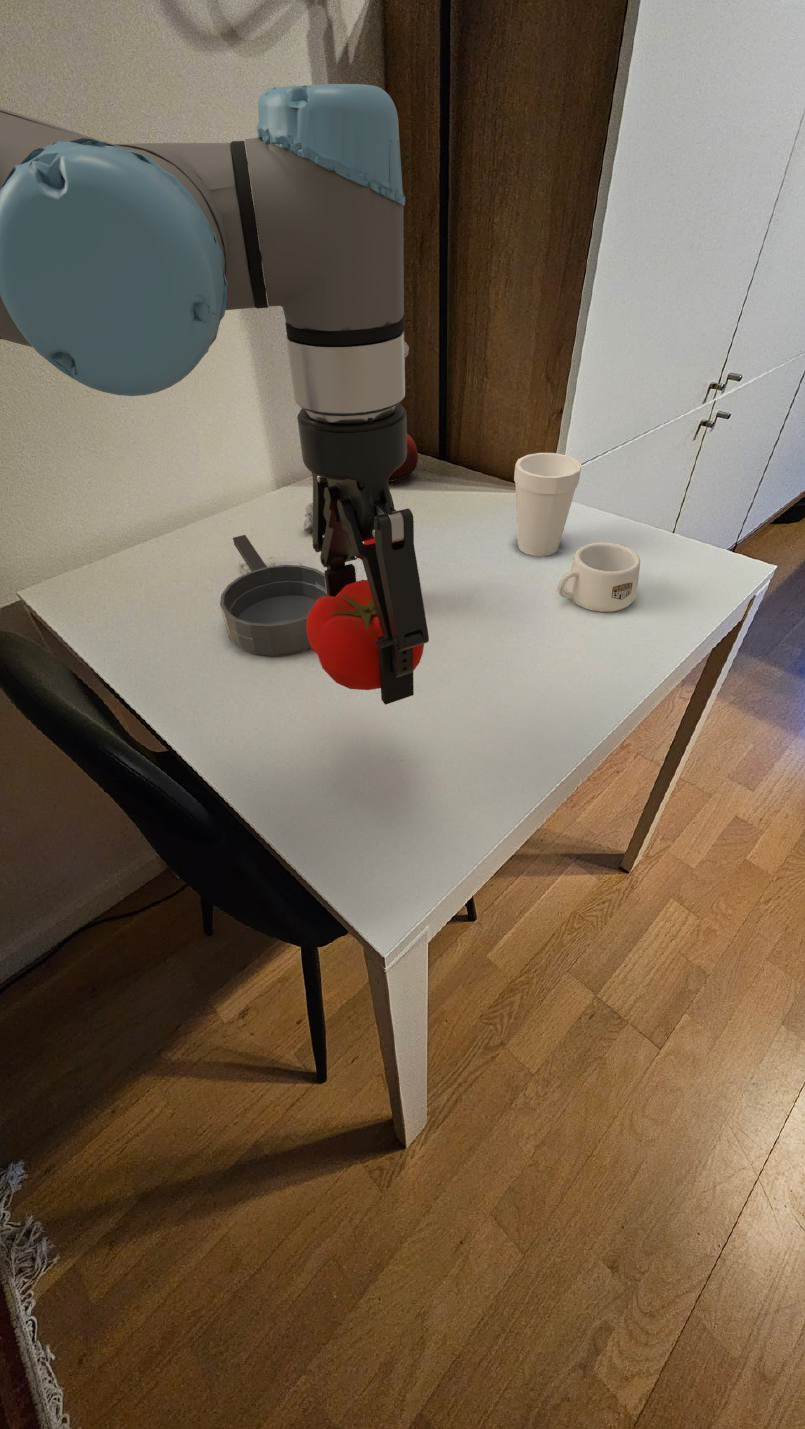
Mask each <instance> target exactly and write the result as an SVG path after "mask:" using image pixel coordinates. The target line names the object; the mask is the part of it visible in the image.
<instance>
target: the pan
mask: <svg viewBox="0 0 805 1429" xmlns="http://www.w3.org/2000/svg"><path fill="white" fill-rule="evenodd" d="M324 596H327V588H326V579H325V572H323V571H321V570H319V569H317V568H315V567H309V566H305V565H301V564H300V565H299V564H279V565H278V564H277V565H269V566H267V567H265V568H261V569H257V570H253V571H251V570H250V571H249V572H247V573H244V574H243V575H240V576H238V577H236V579H234V580H233V581H231V582H230V583H228V585H227V586H226V587H225V588H224V590H223V591H222V593H221V595H220V600H219V606H220V610H221V613H222V617H223V621H224V624H225V628H226V632H227V634H228V636H229V639H230V640H231V642H232V643H234V644H235V645H236V646H238V648H240V649H241V650H244V651H246V652H247V653H248V652H249V653H251V654H254V655H258V656H264V657H265V656H266V657H281V656H291V655H295V654H298V653H302V652H305V651H308V650H310V649H312V648H311V646H310V643H309V640H308V637H307V630H306V623H307V616H308V614H309V613H310V611H311V609H312V607H313V606H314V604H315V602H316V601H317V599H319V598H321V597H324Z"/></svg>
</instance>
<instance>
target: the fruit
mask: <svg viewBox="0 0 805 1429" xmlns="http://www.w3.org/2000/svg"><path fill="white" fill-rule="evenodd" d="M418 461H419V452H418V448H417V445H416V442H415V441H414V439H413V437H412V436H411V435H409V434H408V433H407V458H406V460H405V462H404V463H403V465H402V466H401V467H400V468H398V469H397V470H395V471H394V472H393V473H392V475H391V476H390V477H389V479H388V482H394V481H399V480H402V479H406V478H408V477H410V476H411V475H412V474H413V472H414V471H415V470H416V469H417V466H418Z"/></svg>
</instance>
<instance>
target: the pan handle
mask: <svg viewBox="0 0 805 1429" xmlns="http://www.w3.org/2000/svg"><path fill="white" fill-rule="evenodd" d="M232 541H233V545H234V546H235V548H236V550H237V551H238V553H239V554H240V556H241V557H242V559H243V561H244V562H245V564H246V565H247V567H248V569H249V571H250V572H251V571H253V570H257V569H261V568H265V567H268V565H267V564H266V563H265V562H264V560H263V559H262V556H260V555H259V553H258V551H257V550H256V548H255V547H254V546H253V544H252V542H251V541H250V540H249V538H248V537H247V535H246V534H243V535H238V536H234V537H232Z"/></svg>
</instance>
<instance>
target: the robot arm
mask: <svg viewBox="0 0 805 1429" xmlns="http://www.w3.org/2000/svg"><path fill="white" fill-rule="evenodd" d="M257 115H258V117H257V119H258V122H257V125H256V133H257V137H252V138H251V137H250V138H245V139H244V140H232V141H231V142H145V143H144V142H143V143H139V142H138V143H111V142H108V141H104V140H100V139H98V138H95V137H92V136H88V135H85V134H82V133H79V132H76V131H72V130H71V129H68V128H63V127H60V126H57V125H55V124H51V123H48V122H45V121H42V120H39V119H36V118H34V117H33V118H32V117H30V116H26V115H23V114H21V113H17V112H15V111H12V110H8V109H4V108H0V340H3V341H7V342H11V343H15V344H18V345H22V346H25V347H31V348H33V349H34V351H36V352H37V354H38V355H39V356H41V357H42V358H44V359H45V360H46V361H47V362H49V363H50V364H51V365H52V366H54V367H55V368H56V369H57V370H58V371H59V372H61V373H63V374H65V375H67V376H68V377H70V379H72V380H75V381H76V382H78V383H79V384H82V385H84V386H86V387H88V388H90V389H92V390H96V391H99V392H101V393H107V394H110V395H117V396H122V397H123V396H125V397H140V396H147V395H152V394H157V393H159V392H162V391H165V390H167V389H170V388H171V387H173V386H174V385H176V384H178V383H179V382H181V381H182V380H183V379H185V378H186V377H187V376H188V375H190V373H191V372H193V370H195V368H196V367H197V366H198V364H199V363H200V362H201V360H202V359H203V358H204V356H206V354H207V353H208V352H209V350H210V347H211V346H212V345H213V343H214V342H215V341H216V339H217V336H218V332H219V329H220V324H221V321H222V320H223V318H224V317H225V315H226V311H235V310H244V309H256V310H257V309H268V308H269V307H281V308H282V311H283V315H284V319H285V324H284V325H285V331H286V335H285V340H286V347H287V356H288V363H289V371H290V379H291V387H292V395H293V400H294V402H295V405H297V406H299V407H300V408H301V409H300V411H299V412H298V414H297V417H296V418H297V426H298V433H299V434H298V435H299V441H300V442H299V443H300V449H301V458H302V462H303V464H304V466H305V468H306V469H307V470H308V471H310V472H311V478H312V503H313V531H312V548H313V550H314V552H315V553H320V556H319V558H320V563H321V565H322V567H323V568H326V569H325V570H324V574H325V579H326V588H327V595H328V596H333V597H335V596H336V595H337V594H338V593H339V592H340V591H341V590H342V589H343V588H344V587H345V586H346V585H348V584H351V583H354V582H357V575H356V574H357V573H356V566H355V565H354V564H353V563H349V564H346V563H347V562H351V561H355V560H357V559H359V560H361V562H362V565H363V569H364V573H365V577H366V580H368V584H369V587H370V591H371V595H372V598H373V602H374V605H375V609H376V613H377V616H378V620H379V624H380V627H381V631H382V634H383V636H381V637H378V640H377V641H375V643H376V646H377V647H378V651H379V667H380V684H381V688H380V698H381V701H382V703H383V704H384V705H385V706H386V705H389V704H392V703H394V702H398V701H400V700H404V699H406V698H409V697H412V696H414V695H415V694H414V693H415V692H414V691H415V690H414V671H413V647H415V646H418V645H421V644H424V645H425V644H427V643H429V641H430V637H429V630H428V623H427V617H426V612H425V606H424V604H425V603H424V599H423V592H422V586H421V580H420V574H419V568H418V562H417V561H418V560H417V555H416V548H415V540H414V539H415V536H414V535H415V534H414V533H415V529H414V527H415V526H414V515H413V514H414V513H413V512H412V510H411V509H410V508H404V509H400V510H399V509H398V510H397V509H395V503H394V499H393V496H392V492H391V489H390V484H389V481H388V479H389V477H390V476H391V475H392V473H393V472H394V471H395V470H397V469H398V468H400V467H401V466H402V465H403V463H404V462H405V460H406V458H407V434H408V430H407V429H408V425H407V423H408V421H407V418H408V416H407V410H406V408H405V407H404V406H403V405H402V403H401V402H402V401H403V400H404V399H405V397H406V357H408V355H409V353H410V352H409V351H410V346H409V344H408V343H407V342H406V341H405V270H404V269H405V262H404V261H405V260H404V258H405V256H404V254H405V253H404V252H405V251H404V249H405V248H404V247H405V246H404V206H405V205H406V196H405V194H404V190H403V176H402V175H403V174H402V160H401V144H400V129H399V117H398V111H397V107H396V106H395V103H394V101H393V99H392V97H391V95H390V94H389V93H388V92H386V90H384V89H383V88H382V87H380V86H376V85H372V84H363V83H361V84H360V83H322V84H307V85H285V86H274V87H270V88H266V89H265V90H263V91H262V92H261V93H260V96H259V98H258V101H257ZM373 539H375V543H373V544H369V545H365V544H364V542H365V541H369V540H373Z"/></svg>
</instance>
